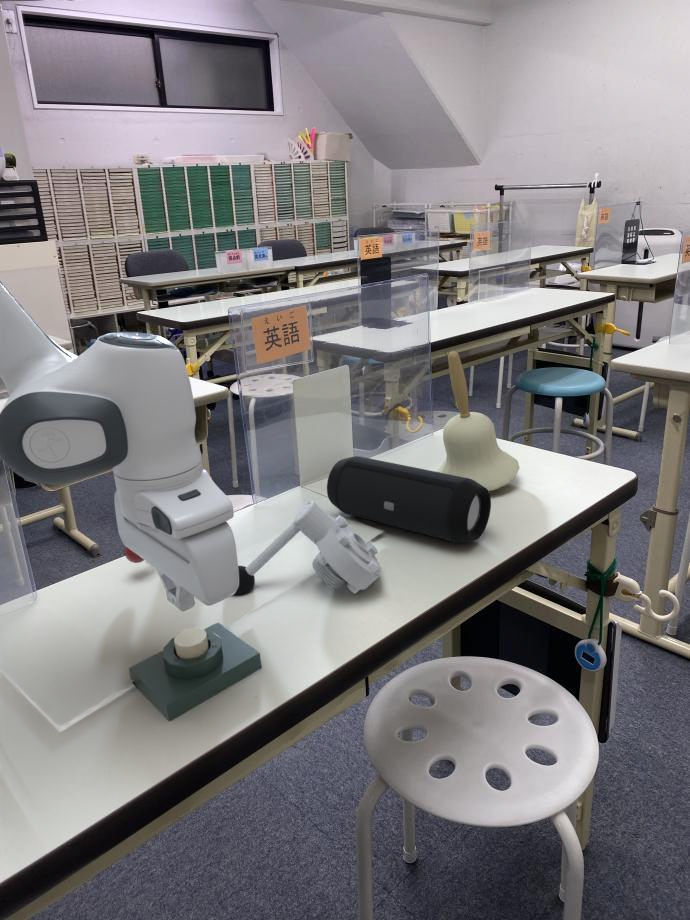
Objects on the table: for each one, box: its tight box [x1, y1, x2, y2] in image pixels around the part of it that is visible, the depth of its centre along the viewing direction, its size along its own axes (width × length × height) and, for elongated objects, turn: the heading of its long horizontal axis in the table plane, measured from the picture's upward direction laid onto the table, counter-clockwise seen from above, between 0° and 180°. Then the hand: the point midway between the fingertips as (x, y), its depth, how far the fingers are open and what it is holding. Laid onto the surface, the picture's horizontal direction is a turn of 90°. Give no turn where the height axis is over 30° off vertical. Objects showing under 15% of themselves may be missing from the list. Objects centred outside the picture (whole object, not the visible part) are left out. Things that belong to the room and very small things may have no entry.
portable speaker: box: [326, 455, 492, 544], centre depth 109 cm, size 26×10×10 cm, turn 54°
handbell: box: [436, 350, 520, 492], centre depth 120 cm, size 15×15×25 cm
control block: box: [128, 622, 263, 722], centre depth 78 cm, size 12×9×4 cm
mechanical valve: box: [233, 500, 383, 596], centre depth 94 cm, size 10×18×15 cm
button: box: [173, 627, 208, 659], centre depth 77 cm, size 4×4×2 cm
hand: (181, 604), depth 75 cm, fingers closed
